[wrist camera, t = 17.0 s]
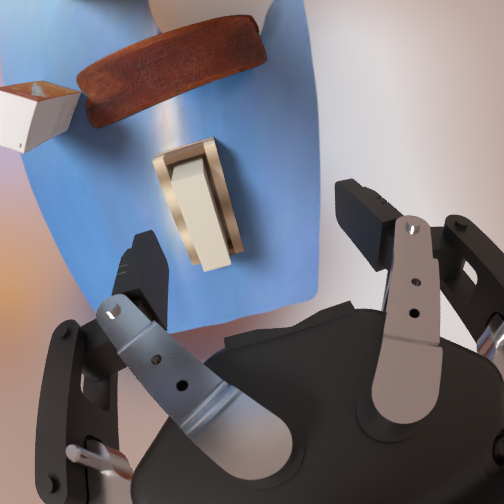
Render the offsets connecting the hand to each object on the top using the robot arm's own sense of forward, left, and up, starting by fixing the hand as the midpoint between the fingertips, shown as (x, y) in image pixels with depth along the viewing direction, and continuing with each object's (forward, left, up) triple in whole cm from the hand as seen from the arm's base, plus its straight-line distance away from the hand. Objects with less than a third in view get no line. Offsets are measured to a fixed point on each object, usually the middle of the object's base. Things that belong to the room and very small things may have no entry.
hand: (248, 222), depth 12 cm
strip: (+11, -5, -29) cm, 32 cm away
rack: (+12, -5, -30) cm, 33 cm away
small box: (-12, -22, -30) cm, 39 cm away
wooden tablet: (-10, -4, -31) cm, 33 cm away
